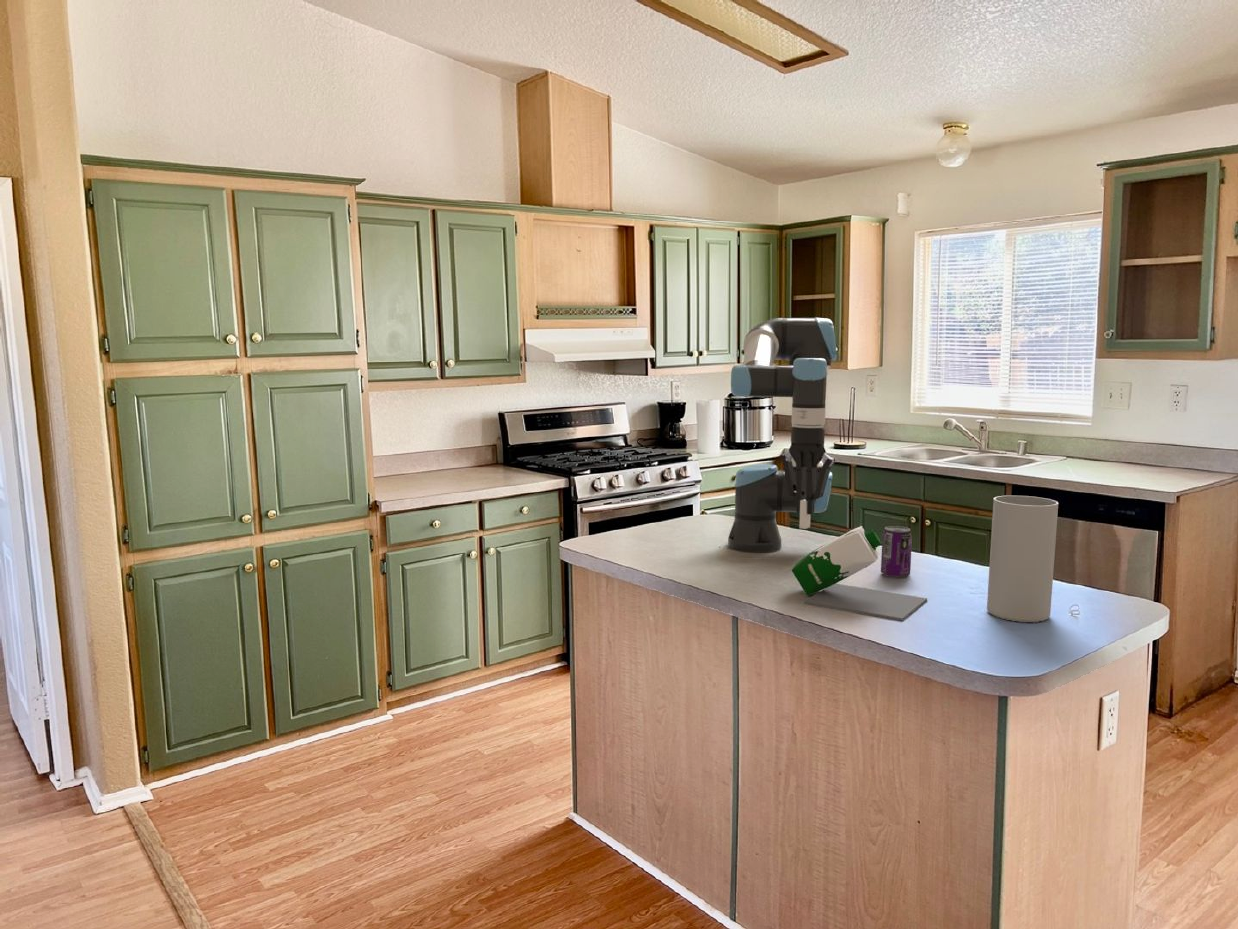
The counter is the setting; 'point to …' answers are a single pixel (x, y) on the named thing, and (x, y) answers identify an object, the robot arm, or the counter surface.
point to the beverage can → (896, 552)
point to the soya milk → (837, 560)
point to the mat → (867, 601)
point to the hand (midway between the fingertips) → (804, 527)
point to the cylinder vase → (1022, 558)
